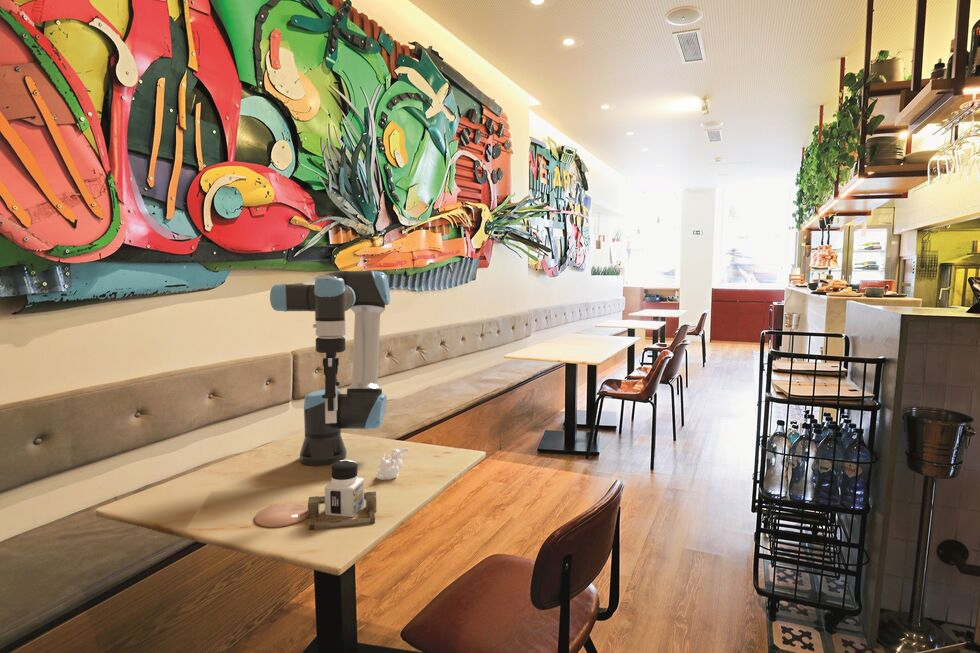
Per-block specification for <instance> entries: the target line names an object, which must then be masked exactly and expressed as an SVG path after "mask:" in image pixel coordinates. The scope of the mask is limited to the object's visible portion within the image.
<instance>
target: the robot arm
mask: <svg viewBox="0 0 980 653" xmlns="http://www.w3.org/2000/svg"><path fill="white" fill-rule="evenodd" d="M390 293H391V292H390V285H389V280H388V277H387V275H386V273H384V272H383V271H377V270H375V271H374V270H338V271H333V272H328V273H324V274H319V275H317V276H315V278H313V279H311V280H305V281H301V282H297V283H288V284H287V283H278V284H274V285H273V286H271V289H270V294H269V302H270V306H271V308H272V309H273V310H274V311H275V312H276V311H277V312H285V313H286V312H314V317H315V318H314V321H315V323H313V324H312V328H314V329H315V336H316V338H315V351H316V352H317V353H321V354H325V357H323V358H322V367H323V376H324V389H319V390H315V391H312V392H310V393H308V394H306V396H305V397H304V399H303V400H304V402H303V417H304V438H303V441H302V442H303V443H302V445H301V449H300V452H299V462H300V463H301V464H303V465H307V466H311V467H312V466H314V467H315V466H316V467H319V466H329V465H330V466H332V465H333V463H335V462H337V461H340V460H346V458H347V449H346V446H345V443H344V440H343V436H342V433H341V432H342V431H341V430H342V429H343V430H354V429H355V430H370V429H373V430H374V429H375V430H376V429H378V428H380V427H381V426H382V424H383V422H384V419H385V415H386V411H387V410H386V409H387V404H388V403H387V395H386V393H383V389H382V387H381V386H380V385H379V383H378V382H379V381H378V380H379V360H380V358H379V357H380V355H379V354H380V328H381V327H380V326H381V315H382V313H384V312H385V310H386V306H388V305H390V302H391V294H390ZM348 310H351V311H352V312H353V313H354V323H353V324H354V325H353V327H354V328H353V348H352V352H353V353H352V373H351V384H349V386H348V387H347V388H346V393H341V392H342V391H341V390H340V389H339V388H338V387H340V381H338V379H337V378H338V377H337V375H338V373H339V372H338V370H339V363H340V361H339V359H340V358H339V357H337V353H343V352H345V351H346V338H345V337H344V336H345V335H346V315H345V314H346V313H345V312H346V311H348Z"/></svg>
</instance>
